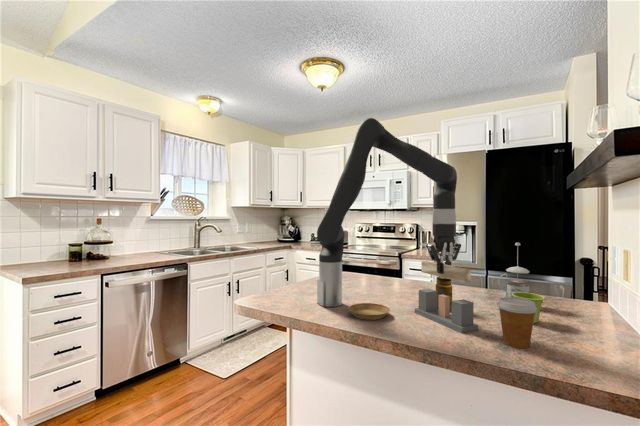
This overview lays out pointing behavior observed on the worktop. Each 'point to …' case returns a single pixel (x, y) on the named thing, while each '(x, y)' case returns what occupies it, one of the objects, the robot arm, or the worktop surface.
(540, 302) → the plant pot
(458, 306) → the display stand
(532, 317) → the disposable coffee cup
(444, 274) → the ash bar
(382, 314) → the plant saucer
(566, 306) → the worktop surface
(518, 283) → the french press
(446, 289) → the condiment
